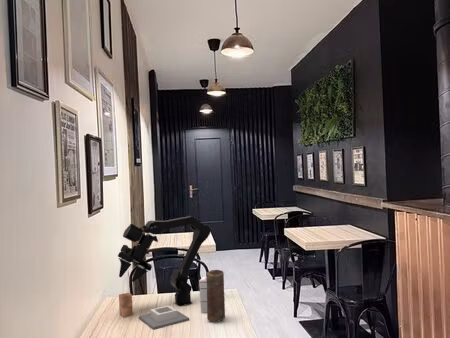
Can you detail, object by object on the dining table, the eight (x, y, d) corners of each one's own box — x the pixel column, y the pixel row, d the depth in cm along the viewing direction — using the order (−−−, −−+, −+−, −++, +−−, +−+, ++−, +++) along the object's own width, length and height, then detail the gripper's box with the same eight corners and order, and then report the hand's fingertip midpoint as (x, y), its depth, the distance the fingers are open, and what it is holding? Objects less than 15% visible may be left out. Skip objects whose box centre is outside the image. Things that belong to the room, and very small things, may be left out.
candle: (228, 317, 172) (225, 269, 172) (222, 324, 165) (219, 274, 165) (211, 316, 175) (208, 269, 175) (204, 322, 168) (202, 273, 168)
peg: (129, 312, 184) (128, 292, 185) (132, 315, 181) (131, 294, 181) (119, 314, 182) (118, 294, 182) (122, 317, 178) (121, 296, 178)
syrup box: (213, 313, 178) (212, 279, 178) (200, 313, 179) (198, 279, 180) (216, 308, 184) (215, 276, 184) (203, 308, 185) (202, 276, 185)
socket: (173, 310, 185) (172, 301, 185) (189, 320, 171) (188, 310, 171) (139, 318, 176) (138, 309, 176) (153, 329, 163) (152, 319, 163)
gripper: (142, 246, 197) (126, 277, 193) (118, 234, 182) (100, 267, 178) (159, 254, 191) (143, 286, 187) (135, 242, 176) (117, 277, 172)
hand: (126, 279), depth 181 cm, fingers open, 9 cm apart
